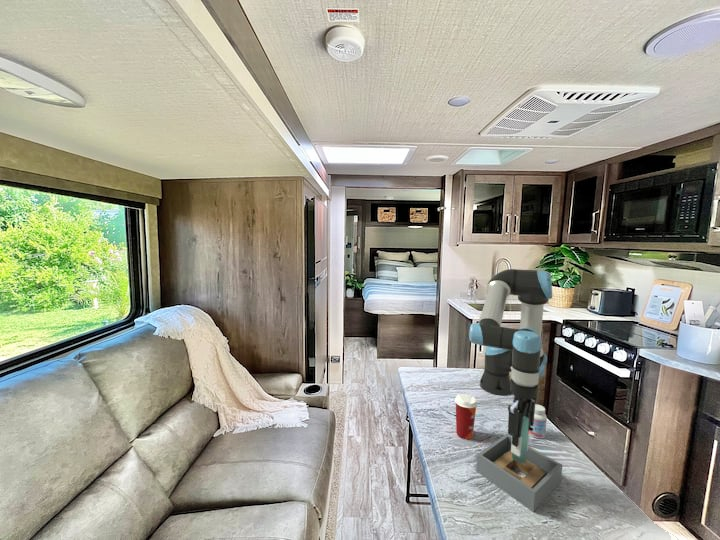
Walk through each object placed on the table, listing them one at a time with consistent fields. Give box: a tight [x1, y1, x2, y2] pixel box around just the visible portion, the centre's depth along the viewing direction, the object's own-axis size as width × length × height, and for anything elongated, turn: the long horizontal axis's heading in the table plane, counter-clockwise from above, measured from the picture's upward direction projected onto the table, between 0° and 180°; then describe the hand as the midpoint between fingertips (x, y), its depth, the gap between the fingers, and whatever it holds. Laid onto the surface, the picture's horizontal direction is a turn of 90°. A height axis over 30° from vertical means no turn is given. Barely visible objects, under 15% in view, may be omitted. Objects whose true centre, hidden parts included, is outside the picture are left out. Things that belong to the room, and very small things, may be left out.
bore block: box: [493, 450, 547, 489], centre depth 96 cm, size 12×12×3 cm
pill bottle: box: [529, 403, 548, 440], centre depth 117 cm, size 6×6×11 cm
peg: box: [512, 416, 529, 463], centre depth 95 cm, size 4×4×14 cm
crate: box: [476, 433, 563, 513], centre depth 96 cm, size 18×18×6 cm
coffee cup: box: [454, 393, 478, 441], centre depth 116 cm, size 8×8×15 cm
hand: (519, 450), depth 95 cm, fingers closed on peg, 4 cm apart
